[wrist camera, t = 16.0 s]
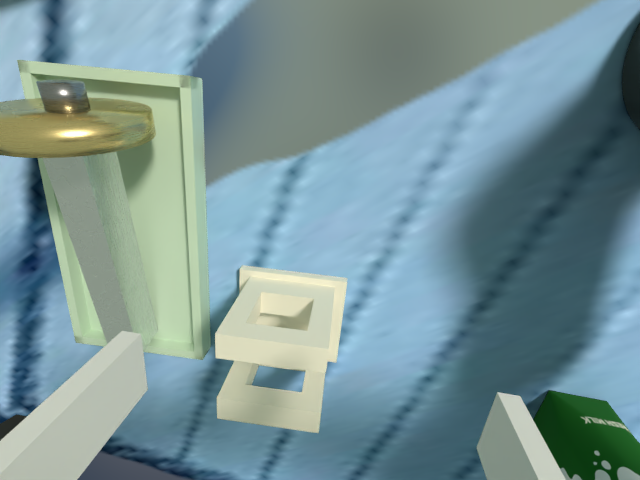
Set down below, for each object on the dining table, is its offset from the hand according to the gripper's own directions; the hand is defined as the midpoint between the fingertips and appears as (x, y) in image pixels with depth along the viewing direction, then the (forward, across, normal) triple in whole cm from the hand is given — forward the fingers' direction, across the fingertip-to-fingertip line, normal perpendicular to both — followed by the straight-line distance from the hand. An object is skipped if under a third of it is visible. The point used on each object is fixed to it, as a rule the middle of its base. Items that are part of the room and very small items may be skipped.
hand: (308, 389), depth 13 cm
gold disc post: (+24, -23, -3) cm, 33 cm away
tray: (+24, -23, -4) cm, 33 cm away
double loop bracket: (+24, -5, -13) cm, 28 cm away
